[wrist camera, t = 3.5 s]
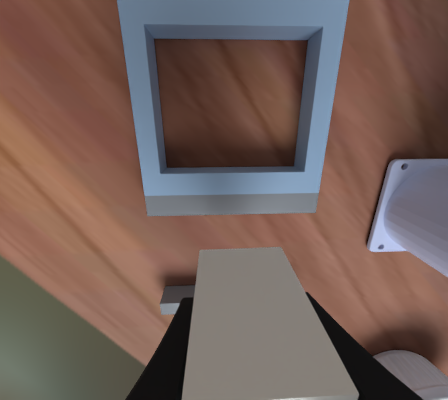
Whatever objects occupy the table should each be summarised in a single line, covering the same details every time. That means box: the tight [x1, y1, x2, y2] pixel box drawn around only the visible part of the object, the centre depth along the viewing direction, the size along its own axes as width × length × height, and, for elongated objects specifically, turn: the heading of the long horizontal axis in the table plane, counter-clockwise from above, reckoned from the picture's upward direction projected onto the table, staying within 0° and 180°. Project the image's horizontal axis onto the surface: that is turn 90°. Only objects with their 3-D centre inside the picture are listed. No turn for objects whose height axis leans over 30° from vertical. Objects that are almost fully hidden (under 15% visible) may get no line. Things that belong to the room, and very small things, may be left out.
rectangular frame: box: [117, 0, 349, 315], centre depth 15 cm, size 12×21×2 cm, turn 0°
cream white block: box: [182, 247, 359, 400], centre depth 8 cm, size 4×4×6 cm
